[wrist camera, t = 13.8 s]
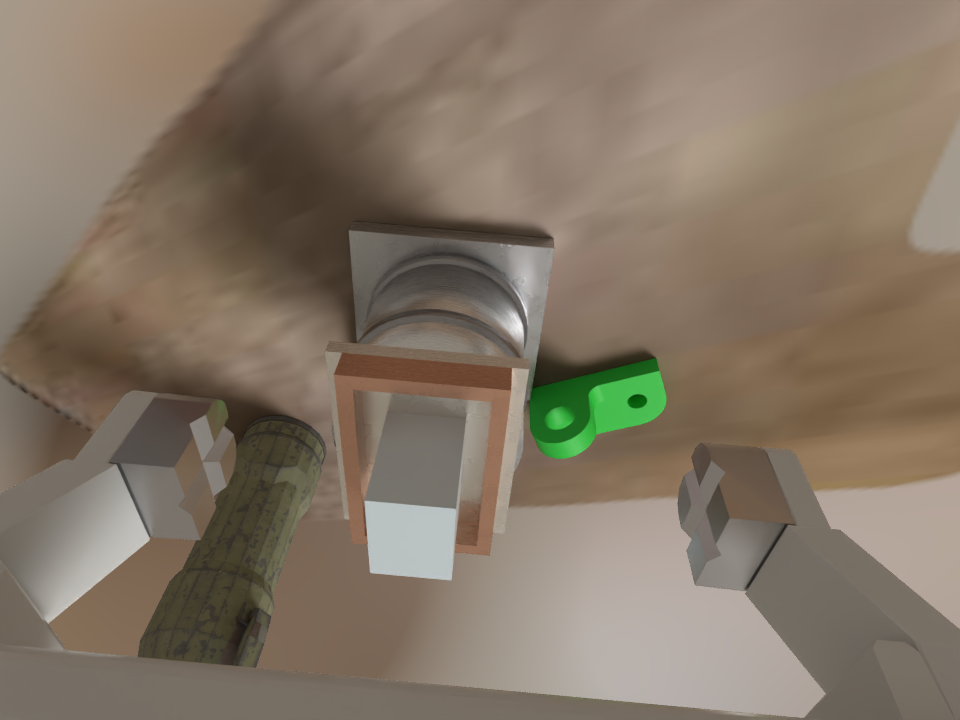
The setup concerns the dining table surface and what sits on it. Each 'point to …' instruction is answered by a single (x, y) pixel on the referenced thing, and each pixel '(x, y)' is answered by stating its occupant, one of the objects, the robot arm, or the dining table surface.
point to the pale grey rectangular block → (415, 496)
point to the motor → (440, 357)
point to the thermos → (240, 551)
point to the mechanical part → (594, 406)
